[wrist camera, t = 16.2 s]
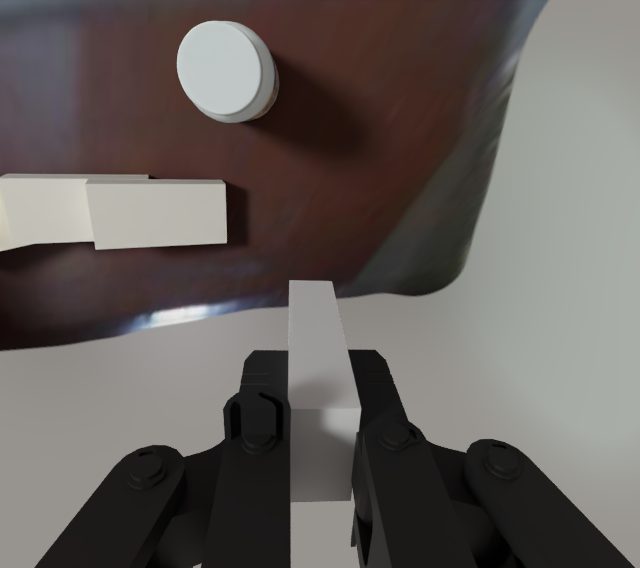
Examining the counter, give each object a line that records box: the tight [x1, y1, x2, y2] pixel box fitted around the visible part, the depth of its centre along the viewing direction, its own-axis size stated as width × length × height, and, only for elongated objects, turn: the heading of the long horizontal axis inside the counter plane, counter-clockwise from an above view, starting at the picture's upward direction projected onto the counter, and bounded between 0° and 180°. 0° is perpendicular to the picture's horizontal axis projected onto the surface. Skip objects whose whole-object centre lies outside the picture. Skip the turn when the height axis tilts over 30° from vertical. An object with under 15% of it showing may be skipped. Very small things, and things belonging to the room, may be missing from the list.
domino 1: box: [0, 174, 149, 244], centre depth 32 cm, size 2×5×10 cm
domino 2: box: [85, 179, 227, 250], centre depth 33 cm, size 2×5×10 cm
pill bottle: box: [177, 21, 279, 123], centre depth 27 cm, size 6×6×10 cm
